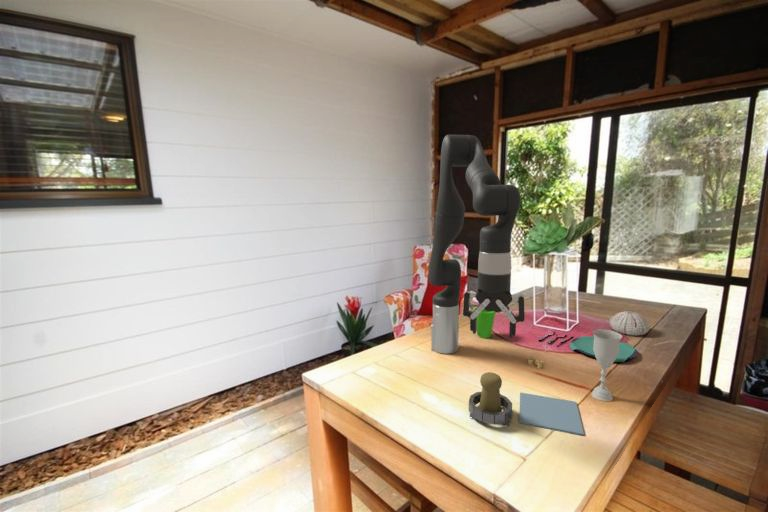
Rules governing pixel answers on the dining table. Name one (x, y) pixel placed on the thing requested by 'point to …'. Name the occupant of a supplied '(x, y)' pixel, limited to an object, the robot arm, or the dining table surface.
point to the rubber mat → (550, 413)
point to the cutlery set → (586, 347)
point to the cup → (485, 323)
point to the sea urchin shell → (629, 323)
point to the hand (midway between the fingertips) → (492, 334)
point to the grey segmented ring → (490, 416)
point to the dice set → (538, 363)
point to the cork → (490, 392)
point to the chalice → (605, 358)
